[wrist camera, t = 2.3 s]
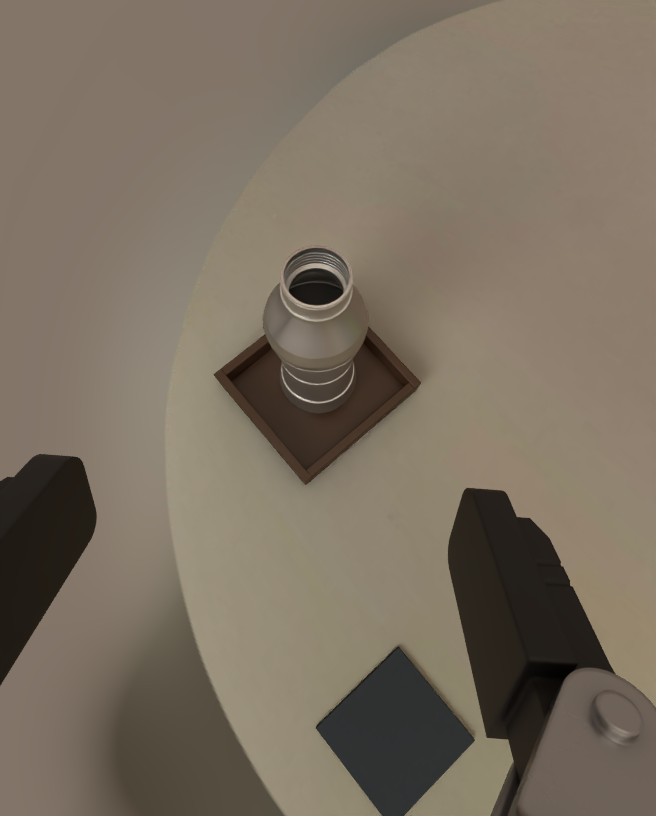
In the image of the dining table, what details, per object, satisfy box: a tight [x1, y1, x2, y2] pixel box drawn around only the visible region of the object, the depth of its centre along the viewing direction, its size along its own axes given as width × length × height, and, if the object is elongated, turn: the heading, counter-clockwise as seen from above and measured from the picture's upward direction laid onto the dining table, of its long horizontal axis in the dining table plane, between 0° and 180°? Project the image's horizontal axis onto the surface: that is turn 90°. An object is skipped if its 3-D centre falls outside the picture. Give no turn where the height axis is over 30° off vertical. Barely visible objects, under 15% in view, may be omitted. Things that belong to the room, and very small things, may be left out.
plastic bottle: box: [263, 246, 369, 413], centre depth 33 cm, size 6×7×20 cm
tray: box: [214, 326, 421, 485], centre depth 42 cm, size 14×13×2 cm
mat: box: [316, 647, 475, 816], centre depth 37 cm, size 9×9×1 cm
